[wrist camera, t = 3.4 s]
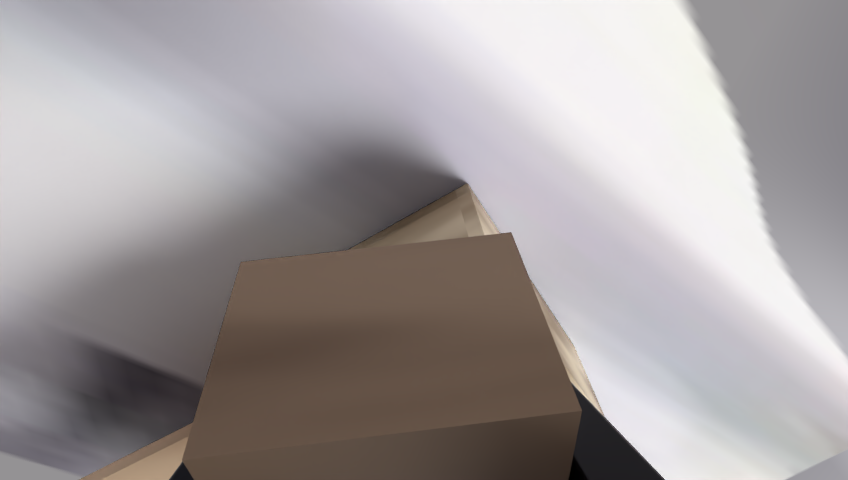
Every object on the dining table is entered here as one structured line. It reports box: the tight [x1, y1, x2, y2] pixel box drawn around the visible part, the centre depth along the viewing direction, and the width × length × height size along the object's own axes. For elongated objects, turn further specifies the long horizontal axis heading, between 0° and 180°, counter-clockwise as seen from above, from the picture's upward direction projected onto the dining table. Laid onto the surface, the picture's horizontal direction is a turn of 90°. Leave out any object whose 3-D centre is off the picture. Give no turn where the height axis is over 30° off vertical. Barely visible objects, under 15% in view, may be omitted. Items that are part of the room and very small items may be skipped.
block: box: [182, 232, 582, 480], centre depth 9 cm, size 4×4×4 cm
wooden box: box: [348, 183, 604, 416], centre depth 21 cm, size 11×10×4 cm
